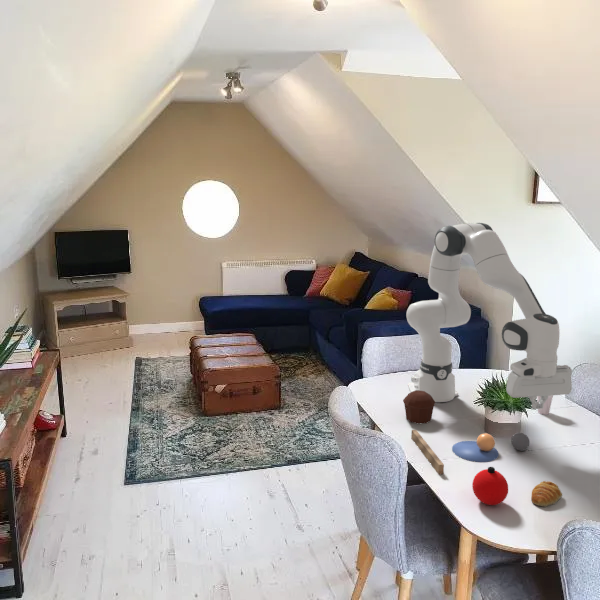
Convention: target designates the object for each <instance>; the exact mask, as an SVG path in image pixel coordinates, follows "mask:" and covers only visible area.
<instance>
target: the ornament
mask: <svg viewBox="0 0 600 600" xmlns="http://www.w3.org/2000/svg"><path fill="white" fill-rule="evenodd" d="M471 487H472V491H473V494H474V496H475V497H476V499H477V500H478V501H480V502H481V503H483V504H485V505H488V506H497V505H499V504H501V503H503V502H505V500H506V499H507V496H508V494H509V485H508V481H507V479H506V477H505V476H504V475H503V474H502V473H501V472H499V471H497V470H496V469H495V467H494V466H488V467H487V468H486V469H482V470H481V471H479V472H477V474H476V475H475V476H474V477H473V480H472V486H471Z"/></svg>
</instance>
